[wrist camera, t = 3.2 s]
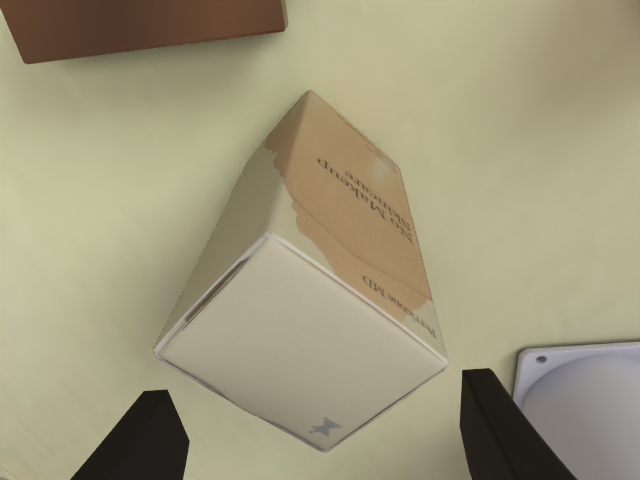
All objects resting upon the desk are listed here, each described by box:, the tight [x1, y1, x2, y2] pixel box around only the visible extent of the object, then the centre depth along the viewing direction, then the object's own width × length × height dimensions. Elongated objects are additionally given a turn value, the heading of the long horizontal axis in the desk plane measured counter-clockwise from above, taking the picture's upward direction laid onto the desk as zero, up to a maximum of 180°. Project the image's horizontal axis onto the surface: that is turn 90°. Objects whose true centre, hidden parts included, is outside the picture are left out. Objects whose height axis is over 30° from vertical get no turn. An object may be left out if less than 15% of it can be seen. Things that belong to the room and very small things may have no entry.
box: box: [153, 91, 449, 452], centre depth 14 cm, size 5×4×11 cm
